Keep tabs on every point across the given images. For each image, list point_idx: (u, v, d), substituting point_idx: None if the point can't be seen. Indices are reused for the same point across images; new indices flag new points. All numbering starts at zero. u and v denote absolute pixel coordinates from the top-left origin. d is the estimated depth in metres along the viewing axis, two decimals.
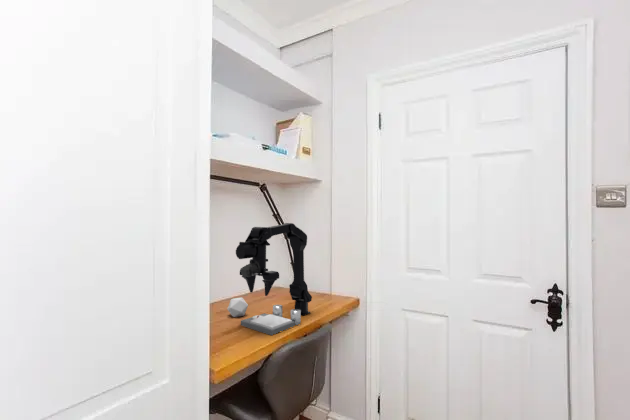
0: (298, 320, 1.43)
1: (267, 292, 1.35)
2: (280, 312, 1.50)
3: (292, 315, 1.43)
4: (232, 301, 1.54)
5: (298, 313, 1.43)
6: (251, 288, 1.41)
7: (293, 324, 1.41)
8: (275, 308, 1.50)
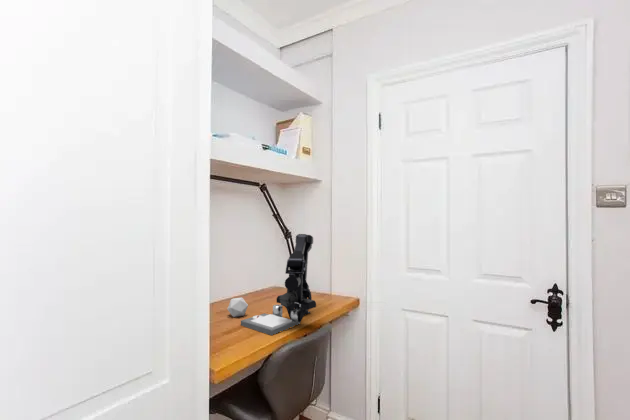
0: None
1: (300, 319, 1.43)
2: (280, 312, 1.50)
3: (292, 315, 1.43)
4: (232, 301, 1.54)
5: None
6: None
7: (293, 324, 1.41)
8: (275, 308, 1.50)
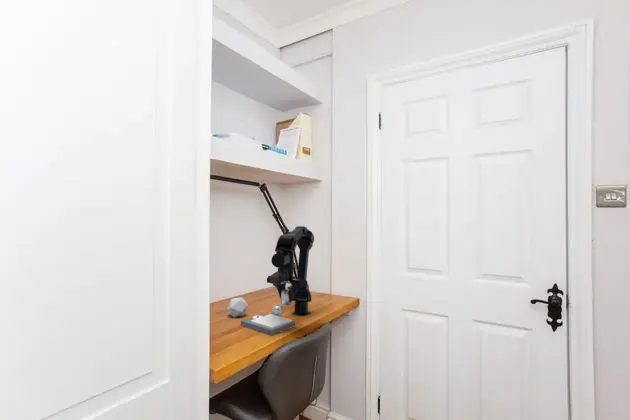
0: None
1: (291, 299, 1.39)
2: (280, 312, 1.50)
3: (283, 295, 1.39)
4: (232, 301, 1.54)
5: None
6: None
7: (293, 324, 1.41)
8: (275, 308, 1.50)
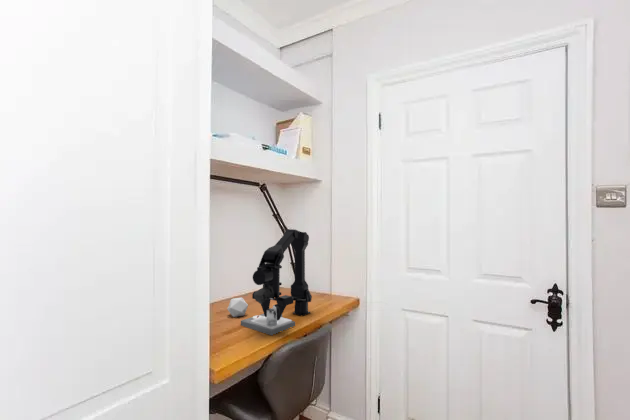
0: (274, 320, 1.34)
1: (279, 316, 1.33)
2: None
3: (268, 315, 1.34)
4: (232, 301, 1.54)
5: (274, 313, 1.34)
6: (266, 312, 1.37)
7: (293, 324, 1.41)
8: None
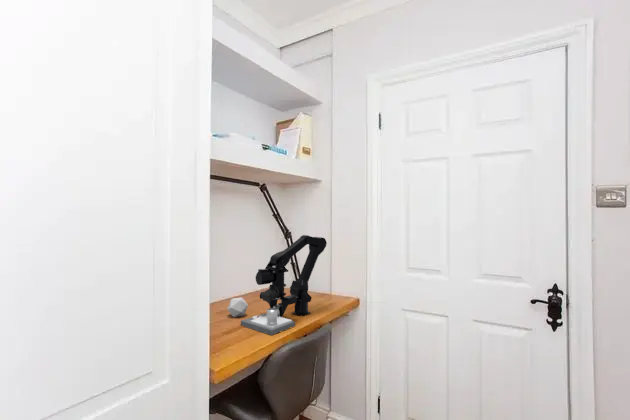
0: (274, 320, 1.34)
1: (282, 314, 1.50)
2: None
3: (268, 315, 1.34)
4: (232, 301, 1.54)
5: (274, 313, 1.34)
6: None
7: (293, 324, 1.41)
8: None
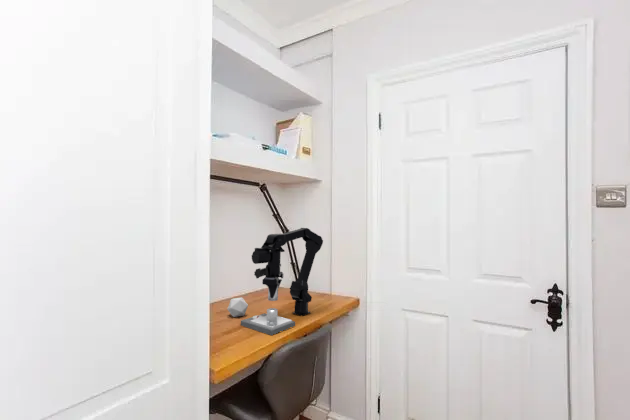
0: (274, 320, 1.34)
1: (271, 295, 1.45)
2: None
3: (268, 315, 1.34)
4: (232, 301, 1.54)
5: (274, 313, 1.34)
6: None
7: (293, 324, 1.41)
8: None
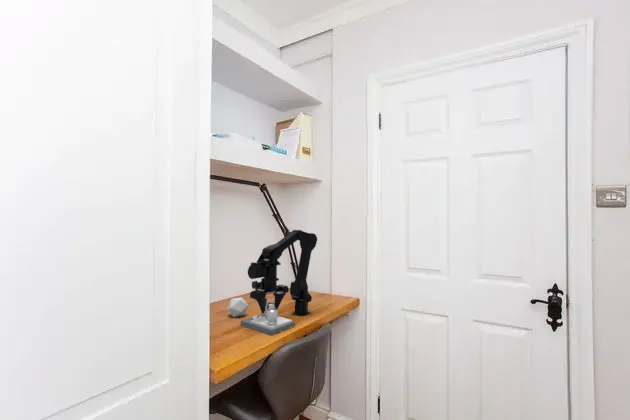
0: (274, 320, 1.34)
1: (262, 310, 1.42)
2: (265, 309, 1.44)
3: (268, 315, 1.34)
4: (232, 301, 1.54)
5: (274, 313, 1.34)
6: (275, 305, 1.49)
7: (293, 324, 1.41)
8: None
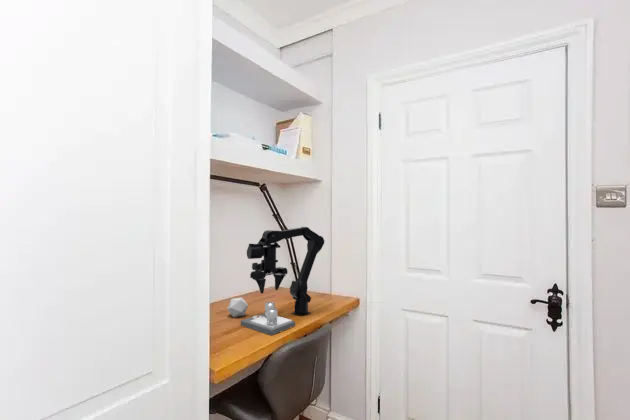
0: (274, 320, 1.34)
1: (261, 290, 1.47)
2: (265, 309, 1.44)
3: (268, 315, 1.34)
4: (232, 301, 1.54)
5: (274, 313, 1.34)
6: (276, 286, 1.55)
7: (293, 324, 1.41)
8: None
